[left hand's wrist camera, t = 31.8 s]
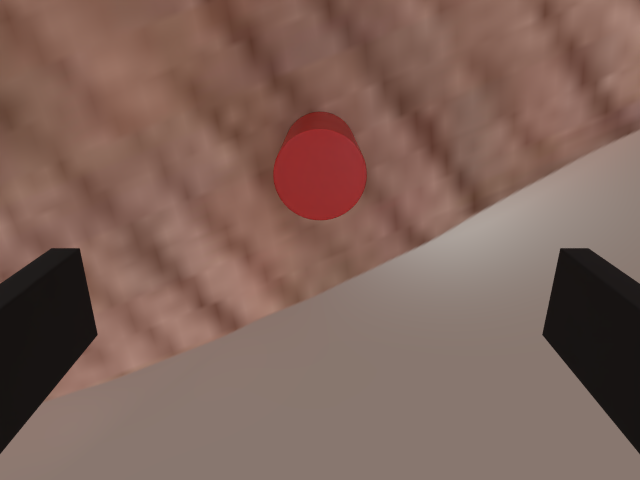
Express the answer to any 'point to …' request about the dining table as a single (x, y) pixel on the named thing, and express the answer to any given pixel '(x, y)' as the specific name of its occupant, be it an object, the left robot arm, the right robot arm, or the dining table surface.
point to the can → (320, 167)
